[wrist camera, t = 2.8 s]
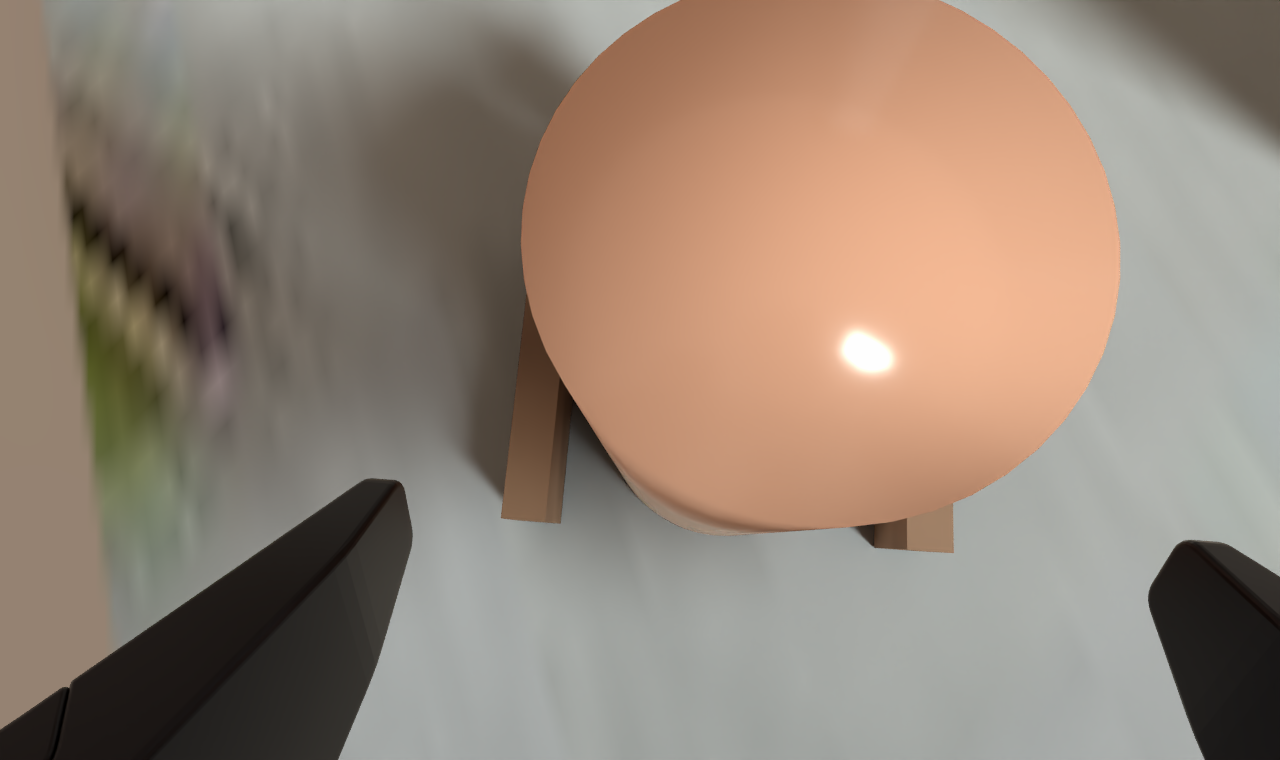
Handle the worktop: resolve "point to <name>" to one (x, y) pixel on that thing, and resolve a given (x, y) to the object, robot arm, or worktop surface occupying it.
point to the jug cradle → (545, 446)
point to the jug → (818, 259)
